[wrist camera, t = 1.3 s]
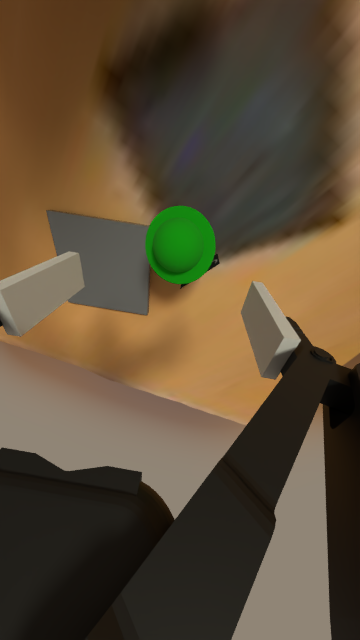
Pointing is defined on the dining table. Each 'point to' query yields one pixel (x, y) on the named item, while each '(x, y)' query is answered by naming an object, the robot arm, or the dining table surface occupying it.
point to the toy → (180, 245)
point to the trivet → (106, 260)
